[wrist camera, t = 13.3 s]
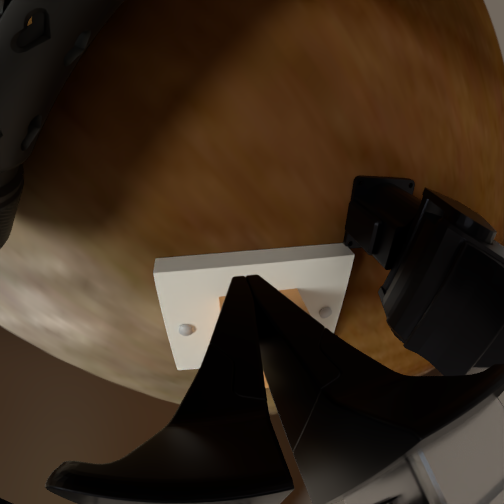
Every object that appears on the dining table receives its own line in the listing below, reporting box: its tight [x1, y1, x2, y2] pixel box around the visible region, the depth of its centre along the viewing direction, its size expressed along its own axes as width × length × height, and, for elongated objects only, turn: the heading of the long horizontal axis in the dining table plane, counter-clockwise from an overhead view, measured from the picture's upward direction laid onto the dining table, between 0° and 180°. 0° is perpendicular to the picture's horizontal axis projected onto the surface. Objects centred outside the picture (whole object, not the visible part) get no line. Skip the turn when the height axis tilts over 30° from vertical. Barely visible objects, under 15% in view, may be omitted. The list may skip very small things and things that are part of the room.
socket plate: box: [153, 243, 355, 370], centre depth 25 cm, size 16×12×2 cm
